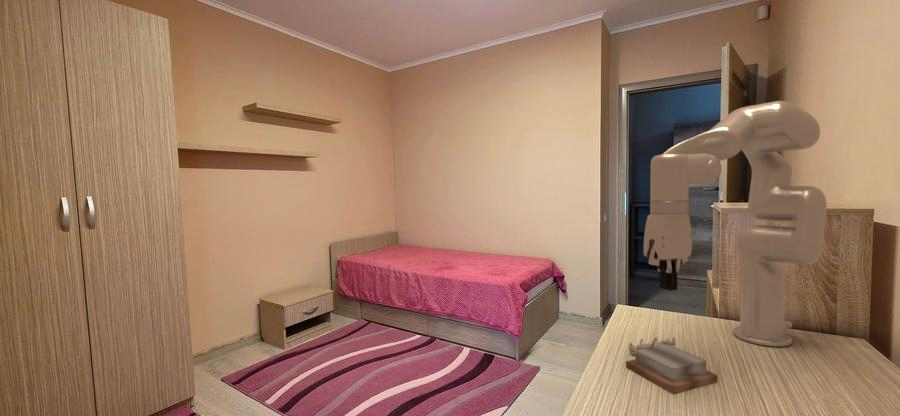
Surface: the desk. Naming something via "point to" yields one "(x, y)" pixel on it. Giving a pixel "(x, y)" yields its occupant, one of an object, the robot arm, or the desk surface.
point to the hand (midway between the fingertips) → (668, 288)
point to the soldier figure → (643, 346)
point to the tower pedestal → (671, 368)
